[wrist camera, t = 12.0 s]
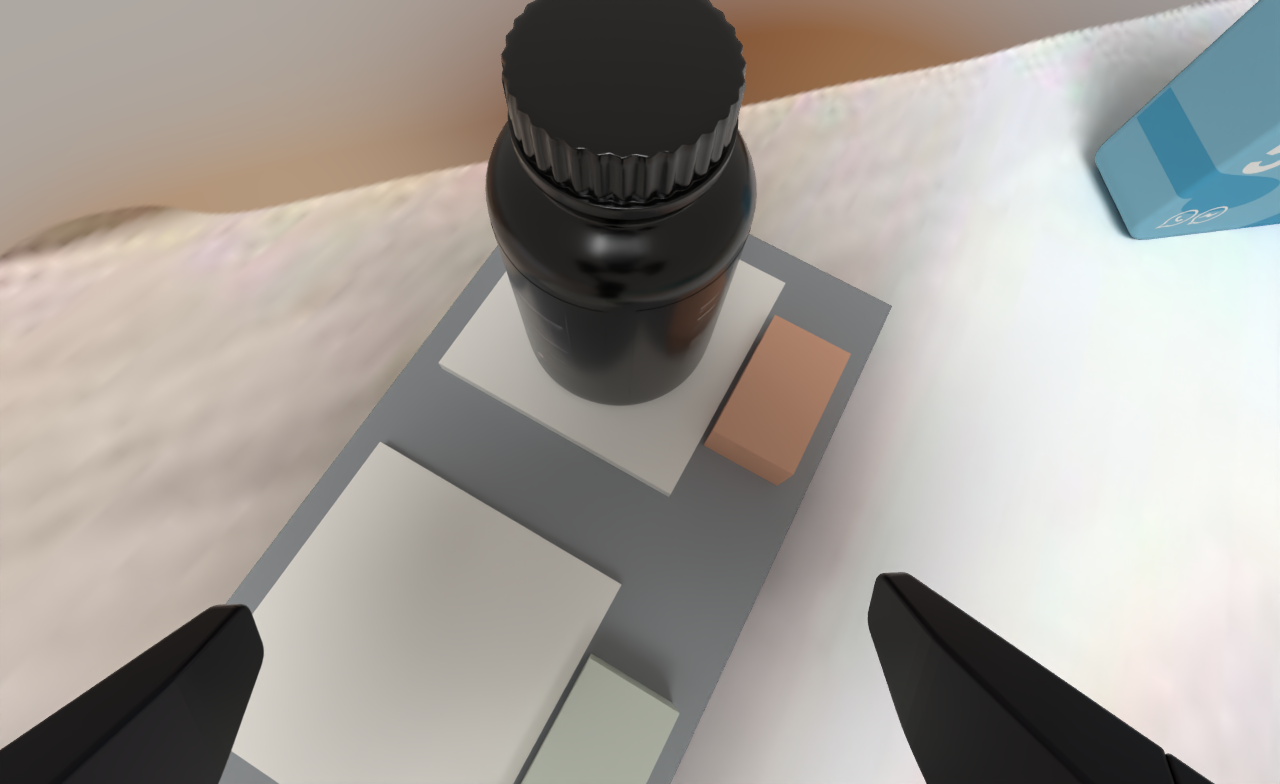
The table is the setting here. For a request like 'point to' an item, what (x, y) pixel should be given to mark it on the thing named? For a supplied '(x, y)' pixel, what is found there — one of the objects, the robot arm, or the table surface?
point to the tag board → (542, 549)
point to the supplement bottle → (621, 188)
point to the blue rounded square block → (1205, 140)
